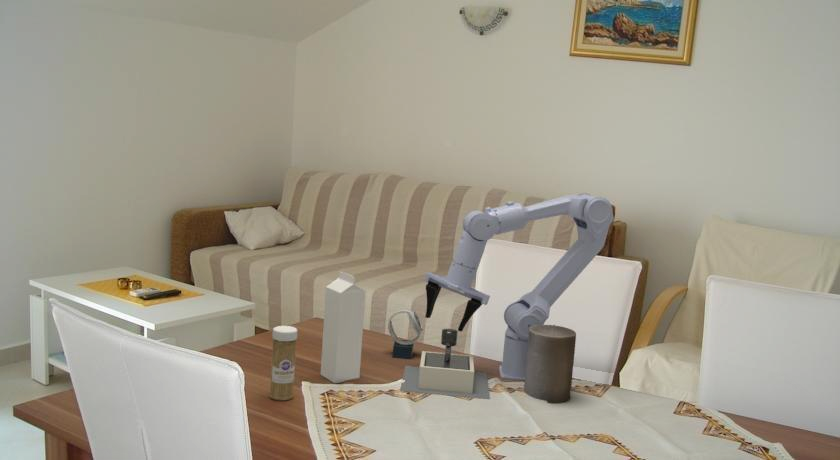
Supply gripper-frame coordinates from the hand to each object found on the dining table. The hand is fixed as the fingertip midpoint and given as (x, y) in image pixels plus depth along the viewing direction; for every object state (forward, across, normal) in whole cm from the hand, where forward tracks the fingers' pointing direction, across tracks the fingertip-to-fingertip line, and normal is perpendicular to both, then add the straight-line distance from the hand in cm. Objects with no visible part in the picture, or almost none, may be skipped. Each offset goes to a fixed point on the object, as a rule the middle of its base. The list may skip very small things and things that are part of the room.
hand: (443, 323), depth 159 cm
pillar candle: (+6, +25, -1) cm, 26 cm away
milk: (+17, -15, -12) cm, 25 cm away
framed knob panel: (+10, +5, -5) cm, 13 cm away
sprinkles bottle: (+20, -20, -27) cm, 39 cm away
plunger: (+7, +5, -5) cm, 10 cm away
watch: (+13, -8, +9) cm, 17 cm away
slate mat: (+11, +5, -5) cm, 13 cm away
